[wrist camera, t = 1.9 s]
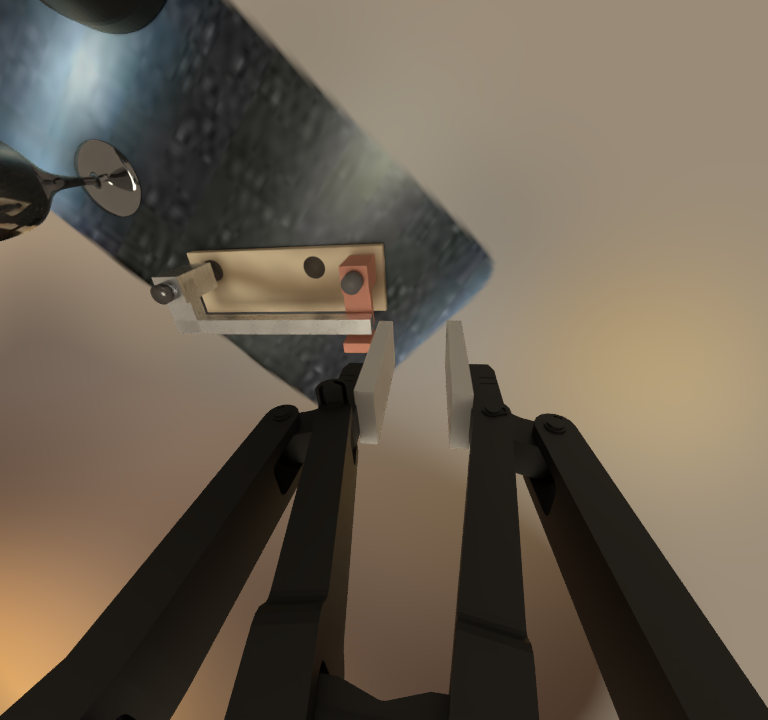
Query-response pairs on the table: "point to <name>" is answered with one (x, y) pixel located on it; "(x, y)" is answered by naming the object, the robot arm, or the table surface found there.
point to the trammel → (190, 317)
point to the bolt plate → (285, 278)
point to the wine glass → (64, 185)
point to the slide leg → (358, 296)
